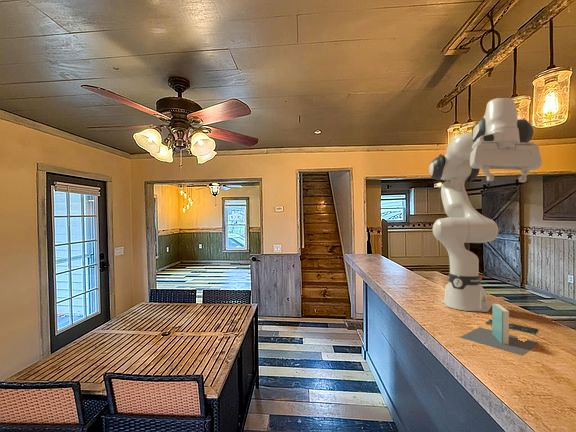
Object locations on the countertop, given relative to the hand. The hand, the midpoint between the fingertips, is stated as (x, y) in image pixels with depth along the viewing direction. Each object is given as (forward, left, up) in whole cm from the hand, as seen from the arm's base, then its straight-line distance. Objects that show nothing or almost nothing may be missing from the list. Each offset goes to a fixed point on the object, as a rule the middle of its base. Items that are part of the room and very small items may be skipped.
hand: (506, 181), depth 103 cm
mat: (+3, -1, -51) cm, 51 cm away
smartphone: (-15, -3, -51) cm, 53 cm away
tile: (+2, -1, -50) cm, 50 cm away
